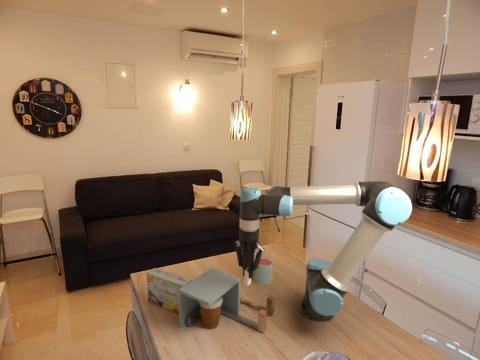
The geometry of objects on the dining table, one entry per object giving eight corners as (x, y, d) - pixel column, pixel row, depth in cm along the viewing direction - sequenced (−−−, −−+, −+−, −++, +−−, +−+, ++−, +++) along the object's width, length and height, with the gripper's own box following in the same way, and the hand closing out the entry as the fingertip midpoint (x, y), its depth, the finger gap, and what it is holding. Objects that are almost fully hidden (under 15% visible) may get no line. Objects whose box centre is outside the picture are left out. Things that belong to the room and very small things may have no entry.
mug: (267, 286, 155) (268, 268, 152) (251, 281, 159) (251, 263, 157) (278, 274, 166) (279, 257, 164) (263, 270, 171) (264, 253, 169)
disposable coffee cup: (219, 333, 121) (219, 306, 119) (195, 330, 123) (195, 302, 120) (225, 318, 130) (225, 292, 128) (203, 315, 132) (203, 289, 130)
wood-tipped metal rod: (266, 329, 124) (267, 311, 122) (244, 354, 110) (245, 335, 109) (212, 305, 138) (212, 289, 137) (187, 325, 125) (186, 308, 123)
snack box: (147, 303, 140) (145, 272, 136) (155, 296, 145) (154, 267, 141) (185, 317, 130) (184, 285, 127) (193, 310, 135) (192, 279, 132)
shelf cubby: (239, 313, 133) (240, 278, 130) (209, 342, 116) (209, 302, 113) (211, 301, 142) (211, 268, 138) (179, 327, 124) (178, 289, 121)
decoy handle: (274, 313, 134) (274, 296, 132) (271, 316, 132) (272, 299, 130) (234, 297, 145) (235, 282, 143) (231, 300, 143) (231, 284, 141)
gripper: (269, 229, 118) (266, 285, 123) (240, 221, 125) (239, 275, 130) (259, 235, 112) (257, 294, 117) (229, 227, 119) (228, 283, 124)
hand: (247, 284), depth 123 cm, fingers closed
